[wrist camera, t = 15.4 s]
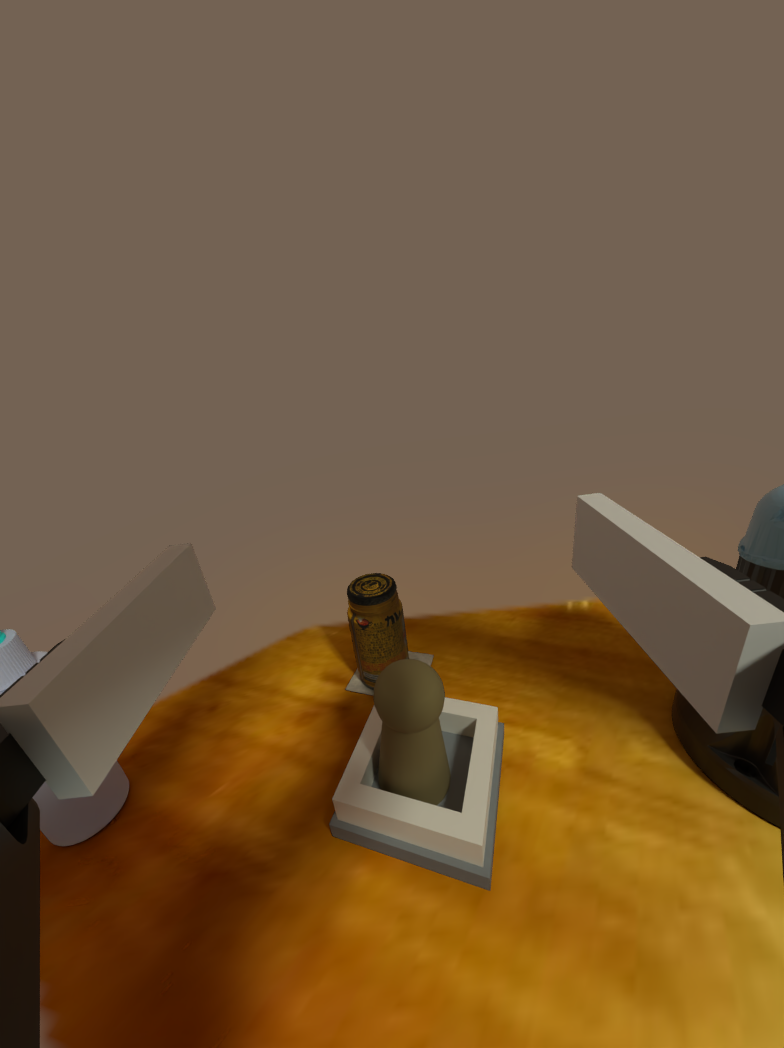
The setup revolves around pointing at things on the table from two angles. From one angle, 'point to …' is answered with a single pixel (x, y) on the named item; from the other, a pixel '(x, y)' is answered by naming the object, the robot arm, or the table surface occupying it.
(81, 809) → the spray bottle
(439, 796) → the cork
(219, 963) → the table surface
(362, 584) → the condiment
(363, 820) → the collar holder
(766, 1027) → the table surface
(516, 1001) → the table surface
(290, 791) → the table surface
